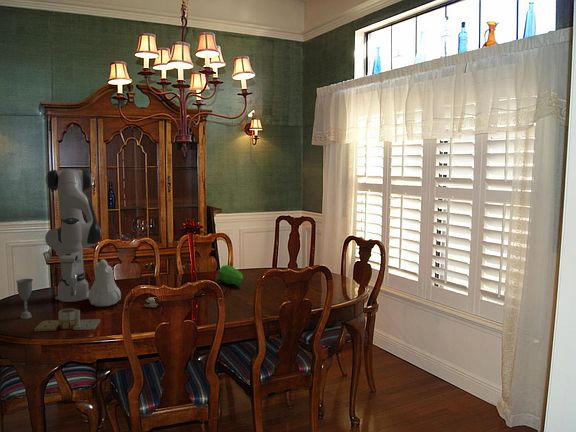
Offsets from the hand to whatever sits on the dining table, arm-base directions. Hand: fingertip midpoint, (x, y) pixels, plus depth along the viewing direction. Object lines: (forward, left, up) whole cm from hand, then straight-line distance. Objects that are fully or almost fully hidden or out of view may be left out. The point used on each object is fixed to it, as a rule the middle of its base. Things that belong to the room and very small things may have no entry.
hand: (73, 284), depth 225 cm
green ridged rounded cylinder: (-72, +72, -20) cm, 104 cm away
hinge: (0, -3, -20) cm, 20 cm away
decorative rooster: (-36, +5, -20) cm, 42 cm away
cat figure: (-31, +39, -20) cm, 53 cm away
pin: (0, 0, -5) cm, 5 cm away
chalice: (-15, -27, -20) cm, 37 cm away
